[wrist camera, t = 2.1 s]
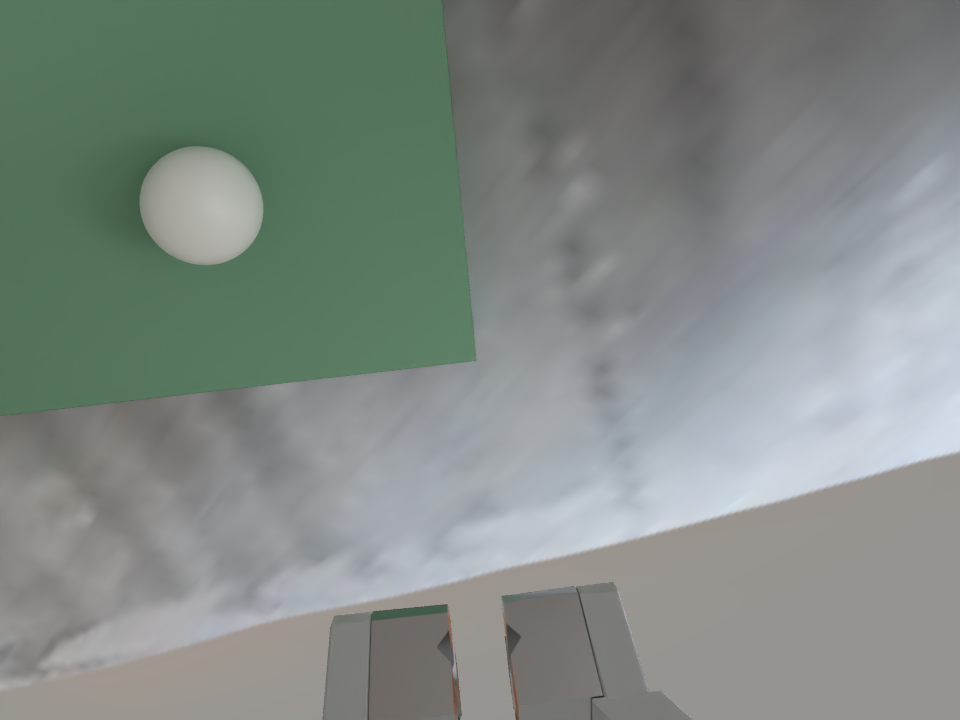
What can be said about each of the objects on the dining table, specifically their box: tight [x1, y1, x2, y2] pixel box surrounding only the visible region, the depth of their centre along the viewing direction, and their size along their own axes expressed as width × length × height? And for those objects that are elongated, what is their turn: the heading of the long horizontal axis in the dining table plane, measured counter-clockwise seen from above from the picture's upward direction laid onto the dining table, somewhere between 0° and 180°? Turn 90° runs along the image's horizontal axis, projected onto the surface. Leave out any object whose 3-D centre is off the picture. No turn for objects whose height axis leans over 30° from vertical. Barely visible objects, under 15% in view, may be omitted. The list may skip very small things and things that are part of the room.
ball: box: [139, 146, 263, 265], centre depth 24 cm, size 4×4×4 cm
